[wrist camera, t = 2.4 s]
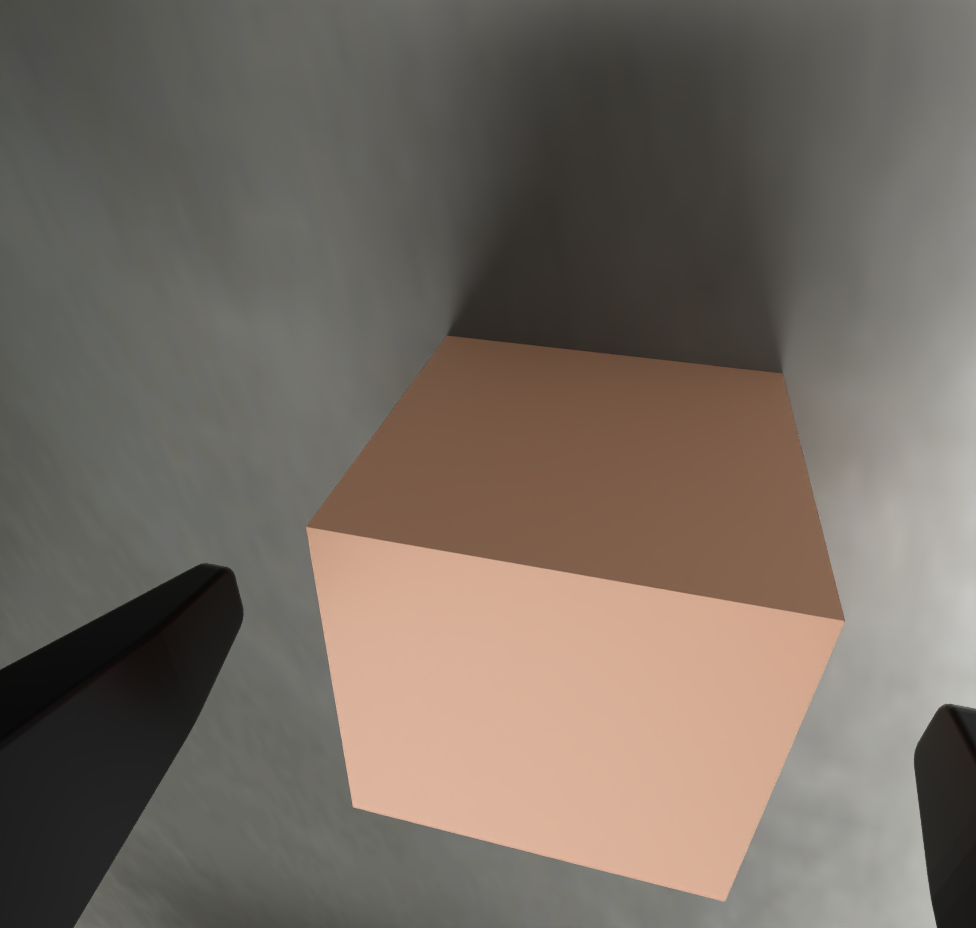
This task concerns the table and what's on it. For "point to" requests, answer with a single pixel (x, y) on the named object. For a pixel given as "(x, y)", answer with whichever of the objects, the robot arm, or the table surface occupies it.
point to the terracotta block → (577, 606)
